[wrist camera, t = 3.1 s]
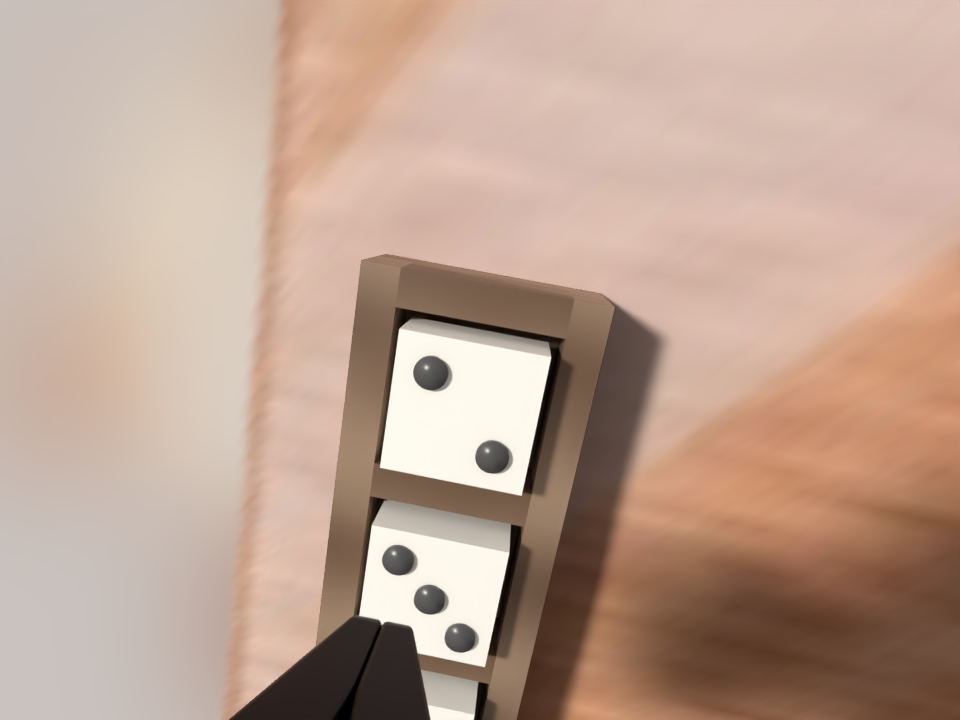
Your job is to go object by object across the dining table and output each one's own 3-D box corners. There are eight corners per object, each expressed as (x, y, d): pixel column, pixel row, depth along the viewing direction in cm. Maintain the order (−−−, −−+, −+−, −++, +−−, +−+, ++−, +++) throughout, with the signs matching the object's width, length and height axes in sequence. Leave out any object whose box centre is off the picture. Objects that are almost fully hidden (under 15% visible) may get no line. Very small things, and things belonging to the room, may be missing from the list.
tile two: (522, 467, 19) (521, 498, 17) (394, 442, 19) (378, 469, 17) (548, 342, 18) (551, 358, 16) (413, 316, 18) (398, 329, 16)
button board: (495, 752, 24) (491, 824, 21) (326, 715, 25) (300, 782, 22) (601, 293, 19) (615, 307, 16) (386, 253, 19) (361, 260, 17)
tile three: (488, 625, 20) (484, 670, 18) (371, 600, 21) (354, 643, 19) (511, 519, 19) (509, 555, 17) (387, 494, 19) (370, 527, 17)
